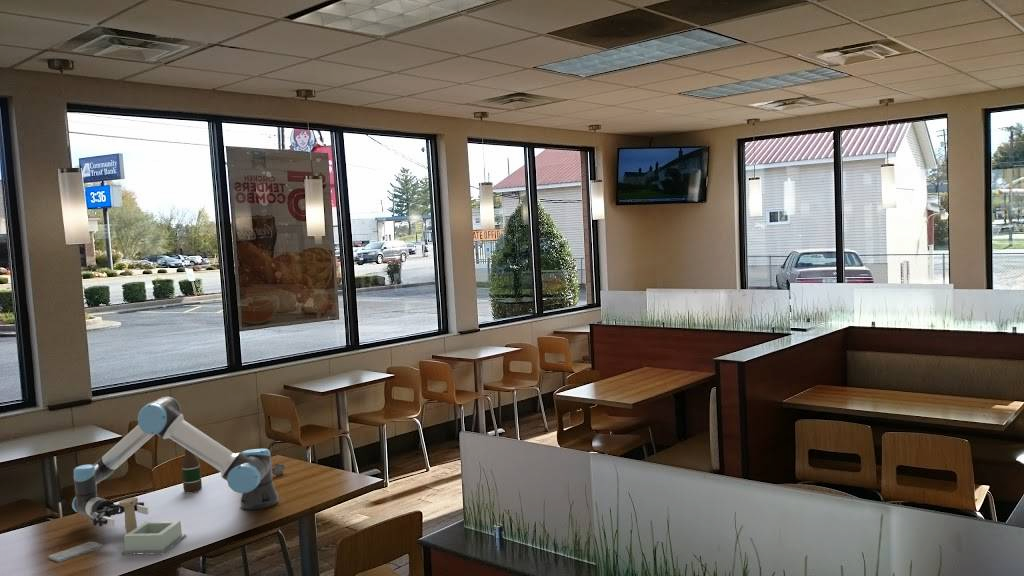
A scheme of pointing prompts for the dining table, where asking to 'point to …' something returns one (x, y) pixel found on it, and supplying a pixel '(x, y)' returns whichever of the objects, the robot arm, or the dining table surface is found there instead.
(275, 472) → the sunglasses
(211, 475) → the dining table surface
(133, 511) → the handle
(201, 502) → the dining table surface
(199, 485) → the beer bottle
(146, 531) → the holder
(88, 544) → the phone
